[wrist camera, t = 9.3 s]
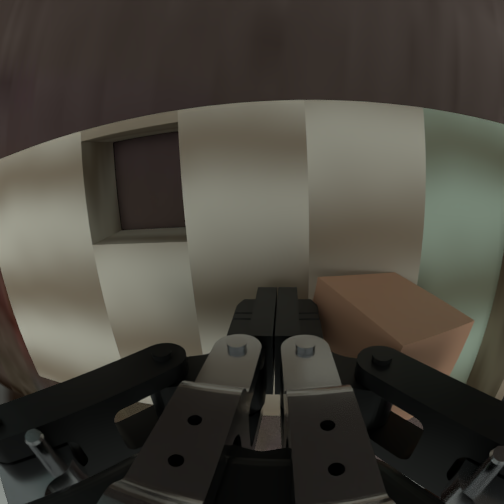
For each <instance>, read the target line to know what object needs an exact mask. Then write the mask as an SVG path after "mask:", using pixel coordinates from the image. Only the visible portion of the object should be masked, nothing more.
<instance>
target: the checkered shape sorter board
mask: <svg viewBox="0 0 504 504" xmlns="http://www.w3.org/2000/svg"><path fill="white" fill-rule="evenodd" d="M175 131H178V133H179V151H180V166H181V180H182V192H183V204H184V215H185V225H186V227H177V228H156V229H136V230H122V229H121V222H120V214H119V206H118V197H117V188H116V177H115V165H114V150H113V142H117V141H122V140H127V139H132V138H138V137H143V136H149V135H155V134H161V133H168V132H175ZM0 267H1V271H2V275H3V279H4V282H5V286H6V289H7V293H8V296H9V299H10V303H11V306H12V309H13V312H14V315H15V317H16V320H17V323H18V326H19V329H20V331H21V334H22V336H23V339H24V341H25V344H26V346H27V349H28V351H29V354H30V356H31V358H32V360H33V363H34V365H35V367H36V369H37V371H38V373H39V376H42V377H45V378H48V379H51V380H54V381H57V382H60V383H62V382H64V381H67V380H69V379H72V378H74V377H77V376H80V375H82V374H85V373H87V372H90V371H92V370H95V369H97V368H100V367H102V366H105V365H107V364H109V363H112V362H114V361H117V360H119V359H121V358H124V357H126V356H129V355H131V354H133V353H136V352H138V351H140V350H143V349H145V348H147V347H150V346H152V345H155V344H160V343H173V344H177V345H180V346H181V347H183V348H184V350H185V351H186V355H187V357H189V356H197V355H204V354H208V353H210V351H211V350H212V348H213V346H214V344H215V343H216V342H217V341H218V340H219V339H221V338H223V337H225V336H227V333H228V330H229V327H230V324H231V321H232V319H233V315H234V312H235V309H236V306H237V305H238V304H239V303H240V302H241V301H243V300H244V299H256V294H257V290H258V287H277V298H278V287H297V295H298V299H311V300H312V301H313V298H314V293H315V288H316V283H317V278H318V277H326V276H344V275H360V274H376V273H390V272H395V273H397V274H399V275H401V276H402V277H404V278H406V279H407V280H409V281H411V282H413V283H414V284H416V285H418V286H419V287H421V288H423V289H424V290H426V291H428V292H429V293H431V294H433V295H434V296H436V297H438V298H439V299H441V300H443V301H444V302H446V303H448V304H449V305H451V306H452V307H454V308H456V309H457V310H459V311H460V312H462V313H464V314H465V315H467V316H468V317H470V318H472V319H473V320H475V321H474V324H473V326H472V329H471V331H470V333H469V336H468V338H467V340H466V342H465V345H464V347H463V349H462V351H461V353H460V356H459V358H458V360H457V362H456V364H455V366H454V368H453V370H452V372H451V374H450V377H452V378H454V379H456V380H458V381H461V382H463V383H465V384H467V385H469V386H471V387H473V388H475V389H477V390H479V391H482V392H484V393H486V394H488V395H490V396H492V397H494V398H496V399H499V400H501V401H502V399H503V397H504V124H501V123H497V122H493V121H489V120H485V119H480V118H476V117H472V116H467V115H462V114H457V113H452V112H446V111H440V110H434V109H428V108H421V107H413V106H405V105H396V104H386V103H375V102H360V101H339V100H281V101H259V102H245V103H233V104H222V105H213V106H205V107H197V108H189V109H183V110H176V111H170V112H164V113H158V114H153V115H147V116H142V117H137V118H133V119H128V120H123V121H119V122H115V123H111V124H107V125H103V126H99V127H95V128H91V129H87V130H84V131H80V132H77V133H73V134H70V135H67V136H63V137H60V138H57V139H54V140H51V141H48V142H45V143H42V144H39V145H36V146H33V147H31V148H28V149H25V150H23V151H20V152H17V153H15V154H12V155H10V156H7V157H5V158H2V159H0ZM138 402H142V403H148V404H153V402H152V399H151V396H148V397H146V398H144V399H142V400H140V401H138ZM263 415H270V416H280V395H275V374H274V387H273V395H271V394H266V398H265V403H264V405H263Z"/></svg>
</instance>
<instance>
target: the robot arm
mask: <svg viewBox="0 0 504 504" xmlns="http://www.w3.org/2000/svg"><path fill="white" fill-rule="evenodd" d="M274 374H275V395H280V427H281V447H282V449H276V450H270V451H255V446H256V442H257V438H258V433H259V429H260V425H261V420H262V416H263V405H264V403H265V398H266V394H271V395H273V387H274ZM148 396H151V399H152V402H153V406H151V407H149V408H147V409H145V410H143V411H141V412H139V413H137V414H134V415H132V416H130V417H128V418H126V419H124V420H122V421H120V422H116V423H114V418H115V415H116V414H117V412H118V411H120V410H121V409H123V408H125V407H128V406H130V405H132V404H134V403H136V402H138V401H140V400H142V399H144V398H146V397H148ZM392 405H395V406H397V407H398V408H400V409H402V410H403V411H405V412H407V413H408V414H410V415H412V416H413V417H415V418H417V419H418V420H419V421H420V422H421V423H422V425H423V430H422V429H421V428H419V427H417V426H415V425H414V424H412V423H410V422H409V421H407V420H405V419H404V418H402V417H401V416H399V415H397V414H396V413H394V412H392V411H391V408H392ZM375 455H376V456H377V457H379V458H380V459H382V460H383V461H385V462H386V463H385V462H383V461H381V460H378V459H376V457H375ZM387 463H388V464H387ZM403 474H404V475H403ZM406 476H407V477H406ZM0 477H1V481H2V484H3V488H4V491H5V495H6V498H7V501H8V504H504V402H503V401H501V400H499V399H496V398H494V397H492V396H490V395H488V394H486V393H484V392H482V391H479V390H477V389H475V388H473V387H471V386H469V385H467V384H465V383H463V382H461V381H458V380H456V379H454V378H452V377H450V376H448V375H446V374H444V373H442V372H440V371H438V370H436V369H434V368H432V367H430V366H428V365H426V364H424V363H422V362H420V361H418V360H415V359H413V358H411V357H409V356H407V355H405V354H403V353H401V352H399V351H397V350H395V349H393V348H390V347H386V346H371V347H367V348H365V349H363V350H362V351H360V353H359V354H358V356H357V358H351V357H345V356H341V355H338V354H336V353H334V352H332V351H331V350H330V347H329V345H328V343H327V342H326V341H325V340H324V338H323V333H322V327H321V322H320V317H319V311H318V306H317V304H315V303H314V302H313V301H312V300H311V299H298V295H297V287H278V298H277V287H258V290H257V294H256V299H244V300H243V301H241V302H240V303H239V304H238V305H237V306H236V309H235V312H234V315H233V319H232V321H231V324H230V327H229V330H228V333H227V336H225V337H223V338H221V339H219V340H218V341H217V342H216V343H215V344H214V346H213V348H212V350H211V351H210V353H208V354H204V355H197V356H189V357H187V355H186V351H185V350H184V348H183V347H181V346H180V345H177V344H173V343H160V344H155V345H152V346H150V347H147V348H145V349H143V350H140V351H138V352H136V353H133V354H131V355H129V356H126V357H124V358H121V359H119V360H117V361H114V362H112V363H109V364H107V365H105V366H102V367H100V368H97V369H95V370H92V371H90V372H87V373H85V374H82V375H80V376H77V377H74V378H72V379H69V380H67V381H64V382H62V383H59V384H56V385H54V386H51V387H48V388H46V389H43V390H40V391H38V392H35V393H32V394H29V395H27V396H24V397H21V398H19V399H15V400H13V401H10V402H7V403H4V404H1V405H0ZM409 478H410V479H412V480H413V481H415V482H416V483H418V484H419V485H421V486H423V487H424V488H426V489H427V490H429V491H431V492H432V493H434V494H435V495H437V496H439V497H440V499H438V498H437V497H435V496H434V495H432V494H431V493H429V492H428V491H426V490H425V489H423V488H422V487H420V486H419V485H418V484H416V483H415V482H413V481H412V480H410V479H409Z"/></svg>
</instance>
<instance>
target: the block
mask: <svg viewBox="0 0 504 504" xmlns="http://www.w3.org/2000/svg"><path fill="white" fill-rule="evenodd" d="M313 302H314V303H315V304H317V306H318V311H319V317H320V322H321V327H322V333H323V338H324V340H325V341H326V342H327V343H328V345H329V347H330V350H331V351H332V352H334V353H336V354H338V355H341V356H345V357H351V358H357V356H358V354H359V353H360V351H362V350H363V349H365V348H367V347H371V346H386V347H390V348H393V349H395V350H397V351H399V352H401V353H403V354H405V355H407V356H409V357H411V358H413V359H415V360H418V361H420V362H422V363H424V364H426V365H428V366H430V367H432V368H434V369H436V370H438V371H440V372H442V373H444V374H446V375H448V376H450V374H451V372H452V370H453V368H454V366H455V364H456V362H457V360H458V358H459V356H460V353H461V351H462V349H463V347H464V345H465V342H466V340H467V338H468V336H469V333H470V331H471V329H472V326H473V324H474V321H475V320H473V319H472V318H470V317H468V316H467V315H465V314H464V313H462V312H460V311H459V310H457V309H456V308H454V307H452V306H451V305H449V304H448V303H446V302H444V301H443V300H441V299H439V298H438V297H436V296H434V295H433V294H431V293H429V292H428V291H426V290H424V289H423V288H421V287H419V286H418V285H416V284H414V283H413V282H411V281H409V280H407V279H406V278H404V277H402V276H401V275H399V274H397V273H395V272H390V273H376V274H360V275H344V276H326V277H318V278H317V283H316V288H315V293H314V298H313ZM391 411H392V412H394V413H396V414H397V415H399V416H401V417H402V418H404V419H405V420H408V419H410V418H412V417H413V416H412V415H410V414H408V413H407V412H405V411H403V410H402V409H400V408H398V407H397V406H395V405H392V408H391Z"/></svg>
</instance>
